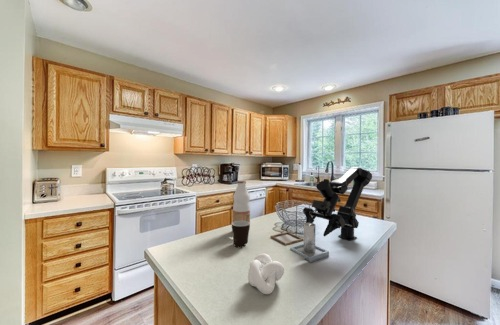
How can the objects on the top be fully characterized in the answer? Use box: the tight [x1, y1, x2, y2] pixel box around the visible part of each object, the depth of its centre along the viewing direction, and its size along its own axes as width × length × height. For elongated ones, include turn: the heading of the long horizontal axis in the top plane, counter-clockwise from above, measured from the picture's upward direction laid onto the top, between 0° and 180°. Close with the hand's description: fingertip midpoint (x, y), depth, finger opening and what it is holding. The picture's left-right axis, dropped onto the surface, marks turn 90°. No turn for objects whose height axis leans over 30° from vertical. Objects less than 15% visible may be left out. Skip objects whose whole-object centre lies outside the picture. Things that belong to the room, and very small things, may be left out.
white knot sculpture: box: [247, 253, 285, 295], centre depth 69 cm, size 11×12×9 cm
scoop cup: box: [303, 222, 316, 255], centre depth 92 cm, size 5×5×12 cm
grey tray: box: [289, 243, 330, 264], centre depth 92 cm, size 11×11×2 cm
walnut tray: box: [270, 231, 304, 246], centre depth 106 cm, size 11×11×2 cm
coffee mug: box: [230, 221, 251, 248], centre depth 103 cm, size 12×9×10 cm
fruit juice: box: [232, 179, 251, 231], centre depth 119 cm, size 9×9×28 cm
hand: (314, 232), depth 94 cm, fingers open, 9 cm apart
